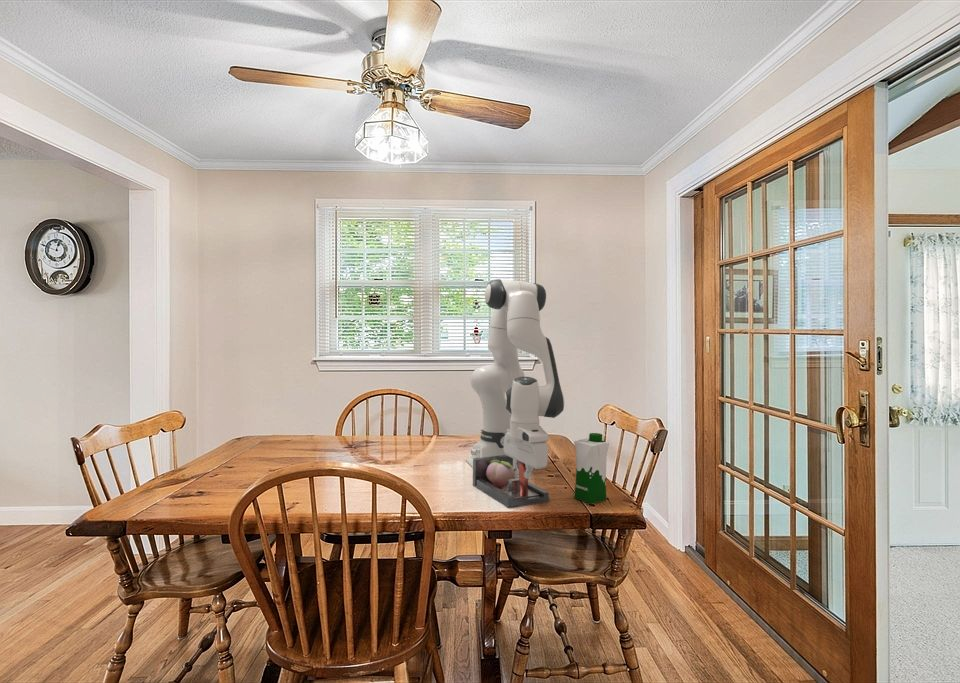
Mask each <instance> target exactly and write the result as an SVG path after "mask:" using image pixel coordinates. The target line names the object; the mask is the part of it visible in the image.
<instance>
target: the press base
mask: <svg viewBox="0 0 960 683" xmlns="http://www.w3.org/2000/svg"><path fill="white" fill-rule="evenodd" d="M500 458H501V461H505V462H508V463H510V464H511V465H512V467H513V458H511V457H509V456H507V455H501V456H491V457H482V458H473V468H472V486H473V487H475V488H477V489H478V490H479V491H481V492H483V493H484V494H486V495H487V496H489V497H491V499H493V500H495V501H497V502H498V503H500V504H501V505H503V506H504V507H506V508H508V509H510V508H515V507H522V506H528V505H533V504H541V503H546V502H550V501H549V499H550V492H549V491H547V490H545V489H543V488H541V487H540V486H538V485H536V484H533V483H531V482H529V481H528V489H530V490H532V491H534V492H536V493H538V494H539V495H540V496H537V497H530V498H524V499H517V500H514V497H512V496H510V495H508V494H507V492H505V491H503V490H502V489H501V488H498V487H496V486H495V485H493V484H492V483H491V482H490V481H489V479H488V478H487V475H486V471H487V468H488V466H489V465H490V464H491V463H490V462H491V461H493V460H499V461H500ZM489 463H490V464H489ZM515 478H519V475H516V474H514V477H513V479H515Z"/></svg>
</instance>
